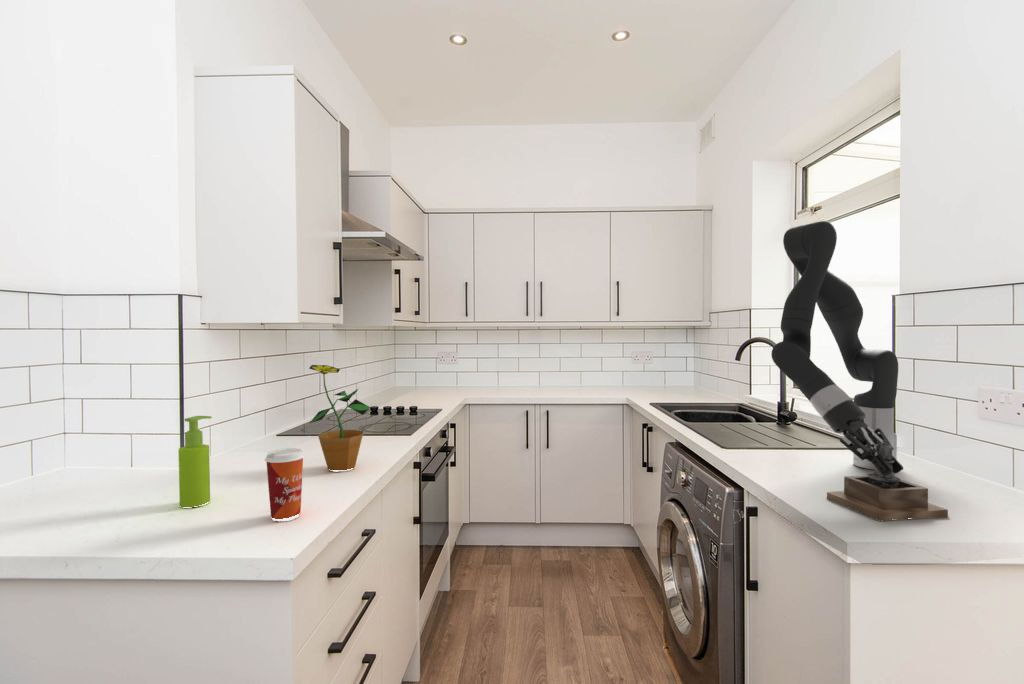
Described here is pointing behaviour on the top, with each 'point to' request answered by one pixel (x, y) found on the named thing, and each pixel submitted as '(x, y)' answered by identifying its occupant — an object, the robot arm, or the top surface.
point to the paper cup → (285, 481)
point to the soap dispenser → (194, 467)
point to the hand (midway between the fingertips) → (894, 472)
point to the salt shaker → (877, 477)
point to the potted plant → (339, 443)
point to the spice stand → (886, 500)
